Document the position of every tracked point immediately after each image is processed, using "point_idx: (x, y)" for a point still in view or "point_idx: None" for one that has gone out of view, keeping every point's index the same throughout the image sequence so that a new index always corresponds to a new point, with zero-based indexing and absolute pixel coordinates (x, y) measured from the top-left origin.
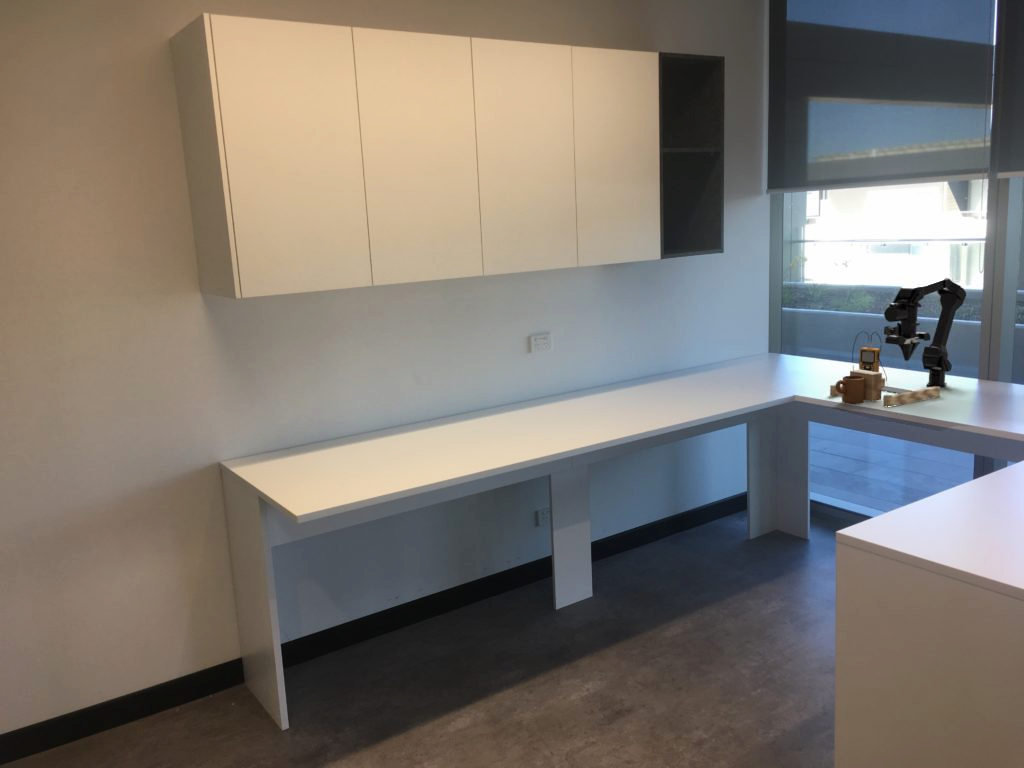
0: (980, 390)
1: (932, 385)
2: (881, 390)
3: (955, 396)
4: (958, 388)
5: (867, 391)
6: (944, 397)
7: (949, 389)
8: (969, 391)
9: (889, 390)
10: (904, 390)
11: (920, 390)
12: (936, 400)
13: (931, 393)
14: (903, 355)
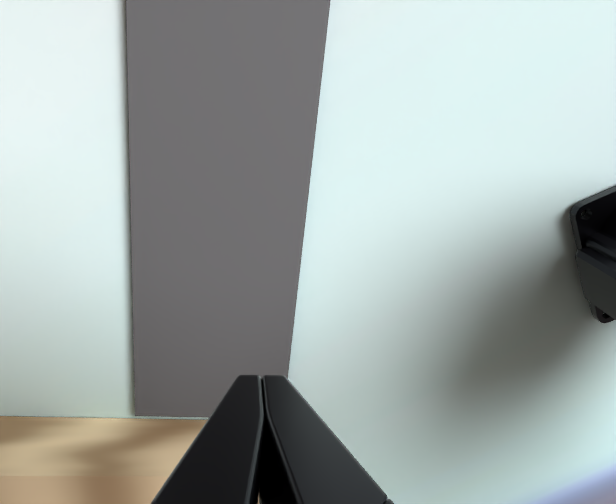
0: (601, 491)
1: (577, 253)
2: (126, 10)
3: None
4: (604, 388)
5: None
6: None
7: (542, 371)
8: (540, 472)
9: (162, 93)
10: (262, 196)
11: (48, 497)
12: None
13: None
14: (193, 444)
